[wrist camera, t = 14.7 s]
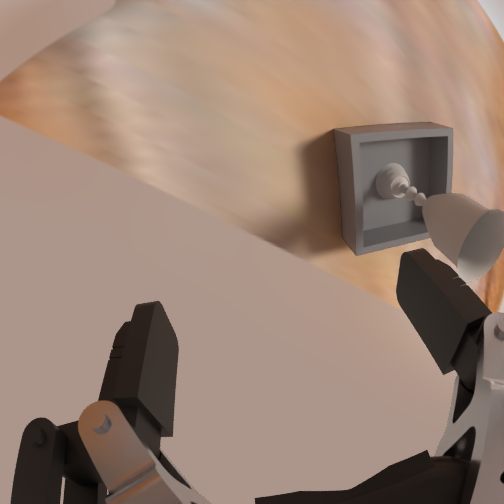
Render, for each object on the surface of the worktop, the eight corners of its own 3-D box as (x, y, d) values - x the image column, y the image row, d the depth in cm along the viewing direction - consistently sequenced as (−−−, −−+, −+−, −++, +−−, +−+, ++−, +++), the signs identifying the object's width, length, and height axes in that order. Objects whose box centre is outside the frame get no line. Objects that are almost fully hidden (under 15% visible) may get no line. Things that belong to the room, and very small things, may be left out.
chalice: (396, 213, 38) (478, 288, 23) (360, 195, 36) (444, 272, 21) (420, 168, 35) (515, 225, 20) (384, 145, 33) (487, 195, 18)
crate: (333, 128, 33) (350, 134, 29) (430, 122, 33) (453, 128, 29) (342, 237, 40) (356, 256, 36) (428, 218, 40) (446, 233, 36)
